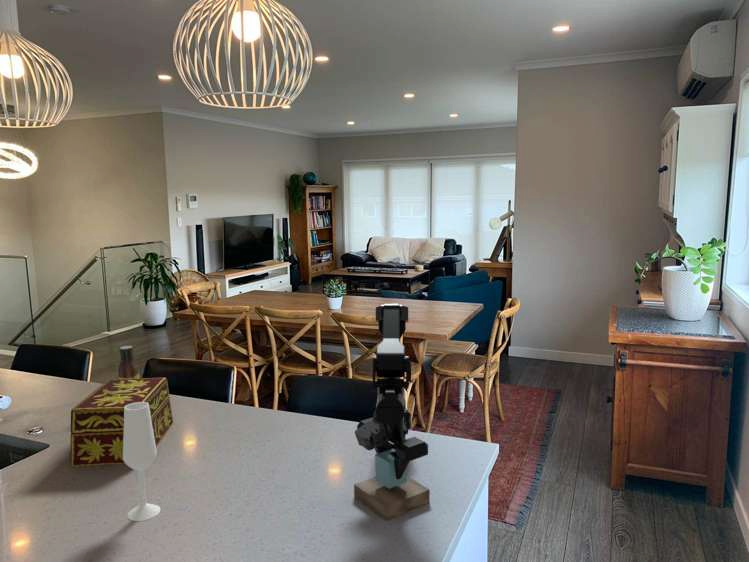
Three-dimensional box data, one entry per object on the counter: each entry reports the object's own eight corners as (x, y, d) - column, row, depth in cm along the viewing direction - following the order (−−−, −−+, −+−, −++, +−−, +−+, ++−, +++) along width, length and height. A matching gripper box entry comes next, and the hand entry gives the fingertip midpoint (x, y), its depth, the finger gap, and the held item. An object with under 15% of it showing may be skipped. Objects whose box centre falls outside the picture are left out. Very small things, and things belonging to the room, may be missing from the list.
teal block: (393, 473, 129) (392, 448, 128) (406, 481, 125) (406, 456, 124) (375, 479, 126) (375, 454, 125) (389, 488, 122) (388, 462, 121)
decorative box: (111, 425, 171) (107, 377, 169) (173, 423, 172) (171, 375, 170) (69, 467, 143) (64, 411, 141) (144, 464, 145) (141, 408, 143)
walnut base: (395, 481, 134) (395, 469, 134) (429, 502, 125) (429, 489, 124) (354, 496, 127) (354, 484, 127) (386, 520, 118) (386, 506, 117)
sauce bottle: (138, 400, 192) (134, 343, 189) (145, 404, 187) (141, 346, 185) (118, 404, 188) (113, 346, 185) (124, 409, 183) (120, 350, 180)
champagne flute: (163, 502, 126) (156, 399, 122) (157, 519, 119) (149, 410, 116) (131, 505, 124) (123, 401, 121) (123, 522, 118) (115, 412, 115)
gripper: (336, 403, 126) (338, 468, 128) (387, 429, 111) (388, 503, 113) (377, 392, 132) (377, 455, 135) (430, 416, 117) (429, 486, 120)
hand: (391, 474), depth 125 cm, fingers closed on teal block, 5 cm apart
